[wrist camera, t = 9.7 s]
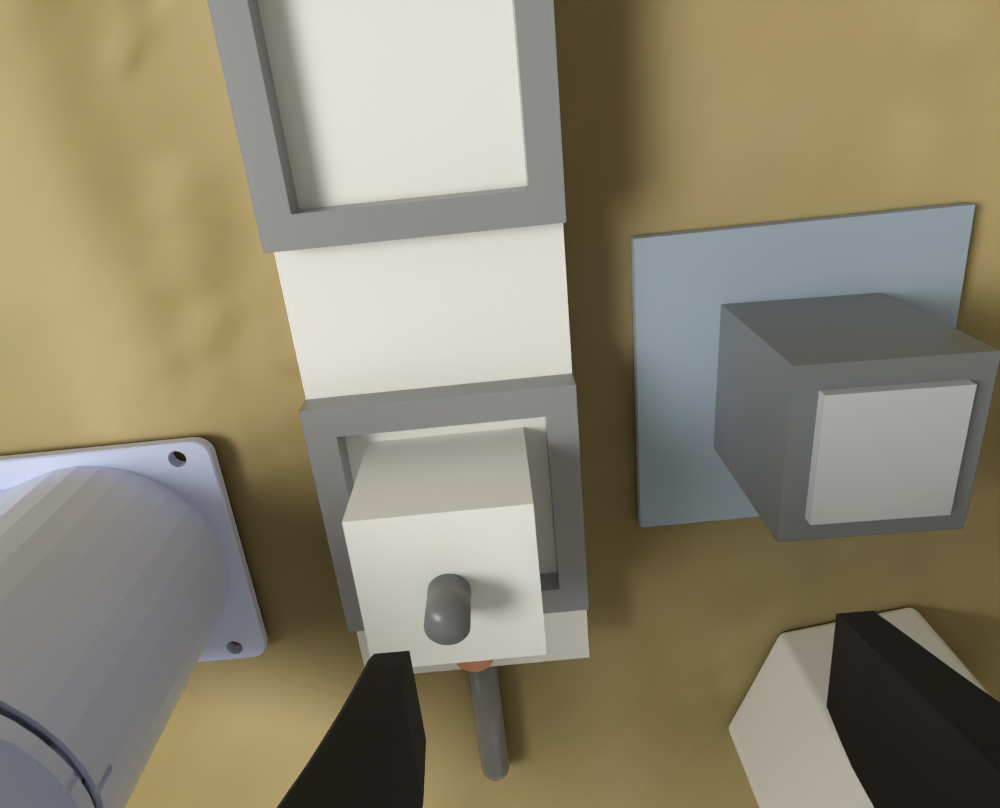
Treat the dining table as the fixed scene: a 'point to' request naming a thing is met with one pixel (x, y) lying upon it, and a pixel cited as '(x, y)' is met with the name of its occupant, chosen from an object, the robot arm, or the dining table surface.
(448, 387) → the power strip
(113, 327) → the dining table surface
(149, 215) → the dining table surface
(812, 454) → the block
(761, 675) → the jar
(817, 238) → the mat
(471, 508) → the white plug
